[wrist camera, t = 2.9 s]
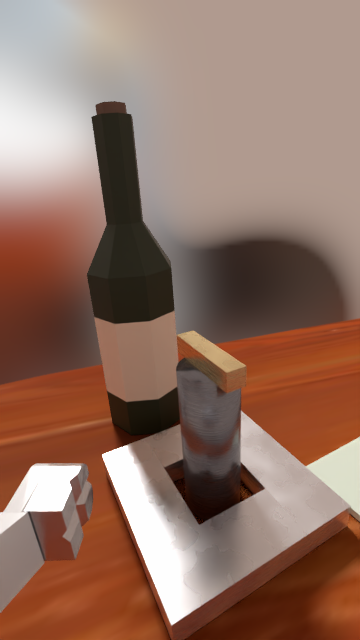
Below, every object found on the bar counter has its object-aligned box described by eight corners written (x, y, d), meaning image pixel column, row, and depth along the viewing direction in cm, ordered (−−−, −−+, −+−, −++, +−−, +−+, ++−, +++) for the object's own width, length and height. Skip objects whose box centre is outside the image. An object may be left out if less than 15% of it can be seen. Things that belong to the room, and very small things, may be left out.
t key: (171, 479, 29) (158, 339, 24) (214, 459, 30) (210, 325, 25) (211, 543, 23) (204, 380, 18) (260, 514, 25) (266, 359, 20)
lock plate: (105, 472, 30) (102, 454, 29) (232, 418, 36) (232, 403, 35) (174, 646, 18) (171, 625, 17) (347, 525, 24) (350, 506, 23)
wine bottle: (132, 386, 43) (95, 120, 32) (193, 395, 40) (176, 107, 29) (97, 428, 36) (33, 102, 24) (168, 442, 33) (133, 83, 22)
